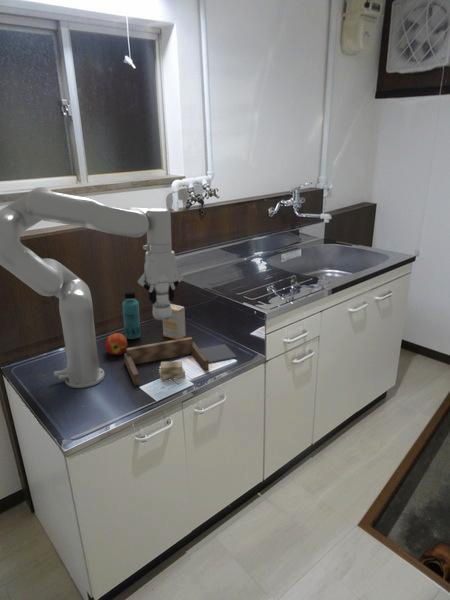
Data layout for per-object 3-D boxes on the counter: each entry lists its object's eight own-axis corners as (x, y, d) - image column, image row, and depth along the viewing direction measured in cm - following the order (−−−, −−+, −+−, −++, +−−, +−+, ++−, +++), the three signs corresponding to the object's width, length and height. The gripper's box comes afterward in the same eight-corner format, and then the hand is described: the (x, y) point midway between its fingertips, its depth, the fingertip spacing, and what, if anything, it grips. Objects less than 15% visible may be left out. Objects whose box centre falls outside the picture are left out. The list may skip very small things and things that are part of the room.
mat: (208, 363, 150) (208, 362, 150) (197, 350, 160) (197, 349, 160) (236, 357, 154) (236, 356, 154) (224, 345, 164) (224, 344, 164)
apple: (105, 359, 153) (103, 339, 150) (106, 349, 160) (105, 330, 158) (128, 357, 154) (126, 337, 151) (128, 347, 162) (126, 328, 159)
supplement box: (186, 336, 171) (185, 306, 167) (178, 341, 168) (177, 310, 163) (170, 332, 175) (169, 302, 171) (162, 336, 172) (161, 306, 167)
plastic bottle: (173, 315, 145) (172, 259, 139) (169, 323, 139) (167, 264, 132) (155, 314, 146) (153, 258, 139) (150, 322, 140) (147, 263, 133)
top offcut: (160, 374, 139) (160, 367, 138) (161, 368, 143) (161, 361, 142) (182, 373, 140) (181, 367, 139) (182, 367, 143) (182, 361, 142)
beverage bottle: (123, 336, 171) (119, 290, 164) (140, 334, 173) (137, 288, 166) (125, 343, 165) (121, 295, 158) (142, 341, 167) (139, 293, 160)
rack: (134, 385, 136) (133, 369, 134) (125, 363, 150) (123, 348, 148) (208, 370, 146) (208, 354, 144) (193, 350, 160) (192, 336, 158)
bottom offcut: (161, 382, 139) (161, 376, 138) (159, 376, 143) (158, 370, 142) (185, 378, 142) (185, 371, 141) (182, 372, 145) (181, 366, 144)
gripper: (135, 252, 128) (138, 308, 134) (189, 248, 134) (189, 301, 140) (130, 247, 134) (133, 300, 140) (181, 243, 141) (182, 294, 147)
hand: (161, 300), depth 140 cm, fingers closed on plastic bottle, 5 cm apart
